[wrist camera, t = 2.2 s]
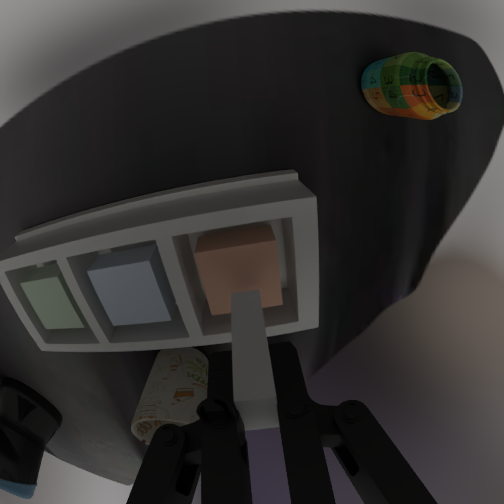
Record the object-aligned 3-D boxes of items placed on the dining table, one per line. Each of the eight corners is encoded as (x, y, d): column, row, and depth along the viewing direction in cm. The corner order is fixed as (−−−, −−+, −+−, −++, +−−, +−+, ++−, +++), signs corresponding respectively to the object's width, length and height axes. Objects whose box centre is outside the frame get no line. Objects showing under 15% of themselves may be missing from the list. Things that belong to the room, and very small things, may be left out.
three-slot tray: (64, 318, 25) (44, 354, 20) (22, 230, 20) (-11, 258, 14) (301, 288, 25) (318, 331, 20) (292, 169, 20) (316, 188, 15)
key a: (56, 312, 21) (46, 329, 19) (33, 268, 18) (19, 283, 16) (94, 309, 21) (84, 327, 19) (70, 260, 18) (57, 276, 16)
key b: (121, 306, 21) (113, 325, 19) (99, 255, 18) (86, 271, 16) (176, 300, 21) (171, 320, 19) (157, 244, 19) (149, 260, 16)
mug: (139, 334, 26) (118, 414, 18) (258, 335, 27) (270, 419, 19) (155, 380, 30) (145, 449, 21) (255, 381, 31) (264, 452, 22)
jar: (406, 113, 18) (474, 122, 11) (361, 118, 18) (424, 125, 11) (395, 61, 16) (461, 52, 9) (348, 63, 16) (407, 44, 9)
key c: (212, 295, 21) (211, 315, 19) (197, 236, 19) (194, 253, 16) (277, 285, 21) (282, 304, 19) (270, 225, 19) (276, 239, 16)
